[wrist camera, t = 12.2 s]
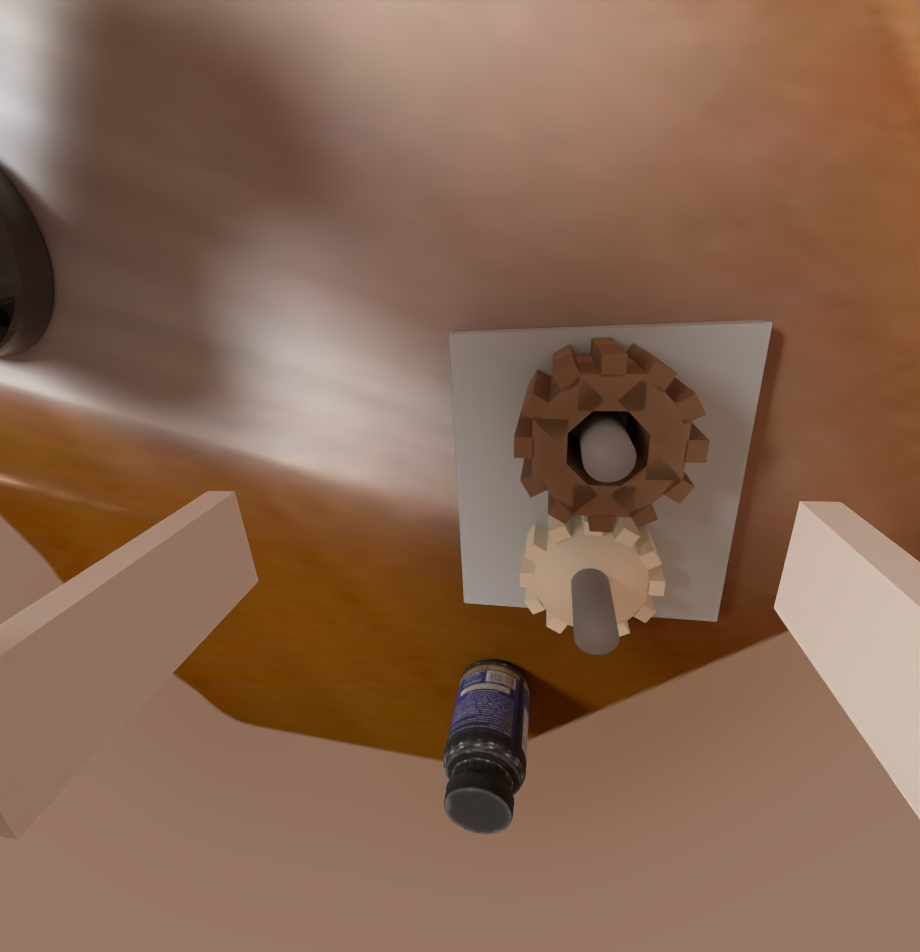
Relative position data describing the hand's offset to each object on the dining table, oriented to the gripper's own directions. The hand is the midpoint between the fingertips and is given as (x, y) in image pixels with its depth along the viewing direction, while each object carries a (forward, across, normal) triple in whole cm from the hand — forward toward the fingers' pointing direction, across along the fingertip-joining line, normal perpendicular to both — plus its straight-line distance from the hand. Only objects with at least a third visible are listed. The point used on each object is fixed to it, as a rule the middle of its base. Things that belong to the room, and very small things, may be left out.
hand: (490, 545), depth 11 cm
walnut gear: (+20, +4, -2) cm, 20 cm away
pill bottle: (+22, -3, -27) cm, 35 cm away
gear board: (+21, +4, -7) cm, 23 cm away
